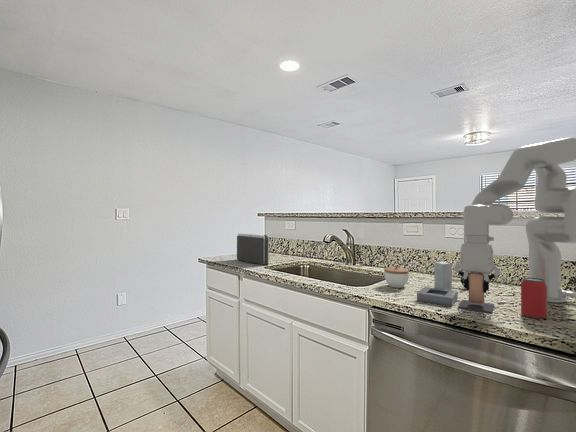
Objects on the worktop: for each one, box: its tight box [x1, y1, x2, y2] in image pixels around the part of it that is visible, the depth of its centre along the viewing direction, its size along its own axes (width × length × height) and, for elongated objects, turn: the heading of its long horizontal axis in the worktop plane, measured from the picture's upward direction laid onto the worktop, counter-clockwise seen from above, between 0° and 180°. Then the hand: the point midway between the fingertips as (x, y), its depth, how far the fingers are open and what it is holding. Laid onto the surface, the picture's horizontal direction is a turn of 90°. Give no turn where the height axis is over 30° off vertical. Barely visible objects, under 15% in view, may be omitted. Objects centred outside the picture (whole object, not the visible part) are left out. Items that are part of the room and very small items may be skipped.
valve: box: [452, 276, 464, 287], centre depth 140 cm, size 7×7×12 cm
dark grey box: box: [236, 232, 270, 265], centre depth 216 cm, size 35×22×20 cm, turn 45°
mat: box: [457, 299, 495, 314], centre depth 110 cm, size 10×10×1 cm
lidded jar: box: [383, 265, 410, 289], centre depth 141 cm, size 11×11×9 cm
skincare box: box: [433, 261, 453, 290], centre depth 132 cm, size 6×4×12 cm
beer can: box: [520, 276, 548, 320], centre depth 100 cm, size 7×7×12 cm
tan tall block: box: [467, 272, 485, 304], centre depth 109 cm, size 5×5×11 cm
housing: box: [416, 286, 458, 307], centre depth 119 cm, size 12×12×3 cm
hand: (476, 290), depth 110 cm, fingers closed on tan tall block, 4 cm apart
